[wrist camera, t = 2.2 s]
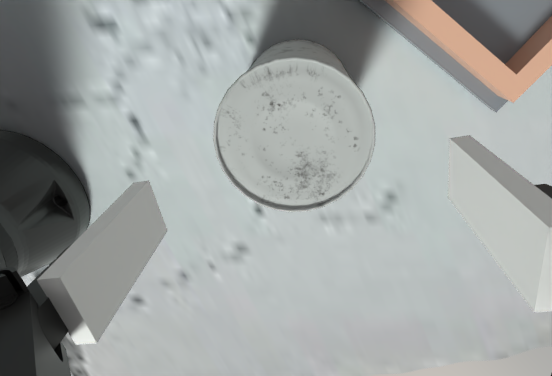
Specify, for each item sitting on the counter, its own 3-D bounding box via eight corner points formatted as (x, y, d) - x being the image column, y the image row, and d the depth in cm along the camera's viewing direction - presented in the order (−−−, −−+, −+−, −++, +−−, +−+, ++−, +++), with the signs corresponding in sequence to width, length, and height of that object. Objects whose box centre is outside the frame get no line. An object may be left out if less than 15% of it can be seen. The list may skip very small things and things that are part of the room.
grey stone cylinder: (235, 133, 34) (202, 193, 23) (255, 26, 30) (227, 36, 19) (332, 157, 34) (345, 227, 23) (365, 55, 30) (401, 81, 19)
